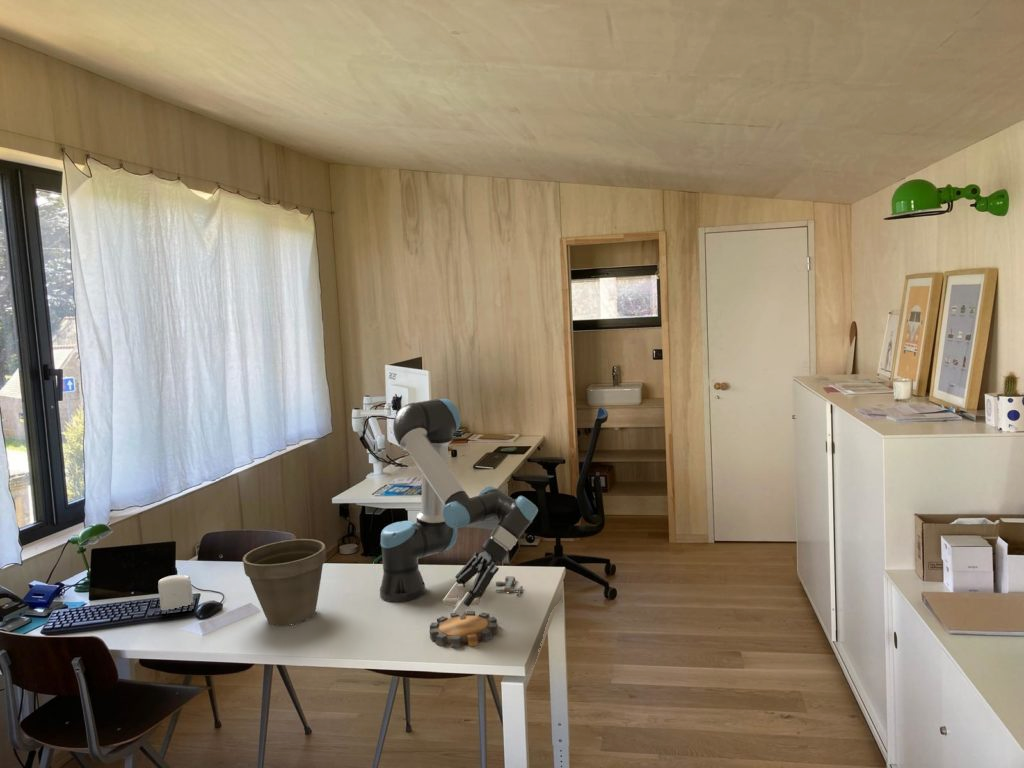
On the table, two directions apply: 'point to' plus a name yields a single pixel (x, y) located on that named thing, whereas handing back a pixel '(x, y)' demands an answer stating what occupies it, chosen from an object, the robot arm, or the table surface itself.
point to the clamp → (508, 585)
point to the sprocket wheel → (463, 629)
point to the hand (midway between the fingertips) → (451, 608)
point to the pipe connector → (457, 600)
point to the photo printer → (175, 592)
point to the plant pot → (286, 578)
